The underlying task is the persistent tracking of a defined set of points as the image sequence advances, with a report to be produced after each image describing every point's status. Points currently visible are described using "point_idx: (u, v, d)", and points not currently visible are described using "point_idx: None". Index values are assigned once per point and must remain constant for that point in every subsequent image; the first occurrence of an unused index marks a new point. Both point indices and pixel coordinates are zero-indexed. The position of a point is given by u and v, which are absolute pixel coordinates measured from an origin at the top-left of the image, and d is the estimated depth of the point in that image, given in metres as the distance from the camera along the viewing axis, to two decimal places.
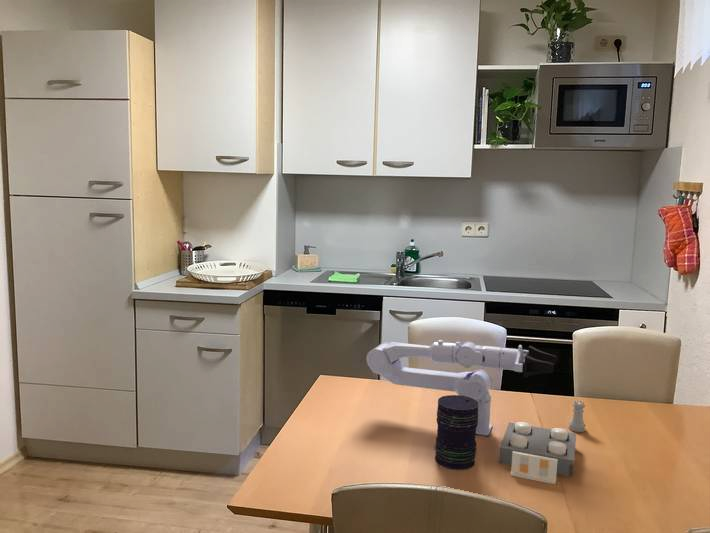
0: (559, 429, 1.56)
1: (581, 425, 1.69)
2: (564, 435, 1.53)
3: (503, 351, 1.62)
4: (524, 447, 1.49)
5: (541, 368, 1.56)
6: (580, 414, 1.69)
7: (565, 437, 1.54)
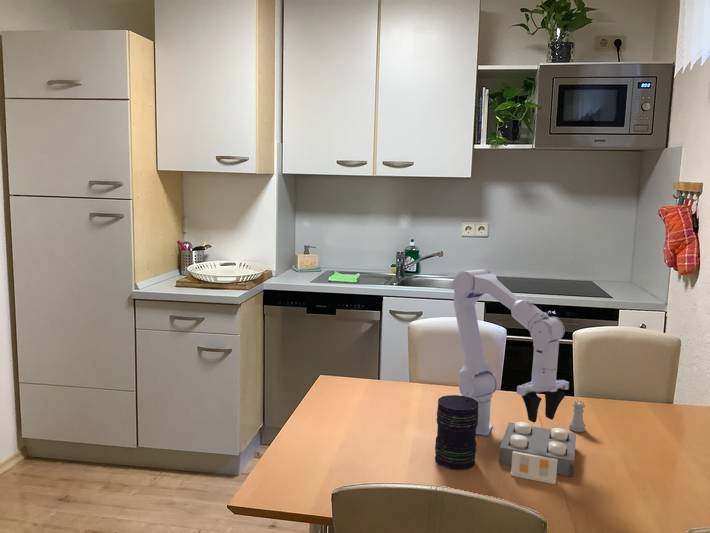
0: (559, 429, 1.56)
1: (581, 425, 1.69)
2: (564, 435, 1.53)
3: (546, 372, 1.48)
4: (524, 447, 1.49)
5: (530, 409, 1.51)
6: (580, 414, 1.69)
7: (565, 437, 1.54)
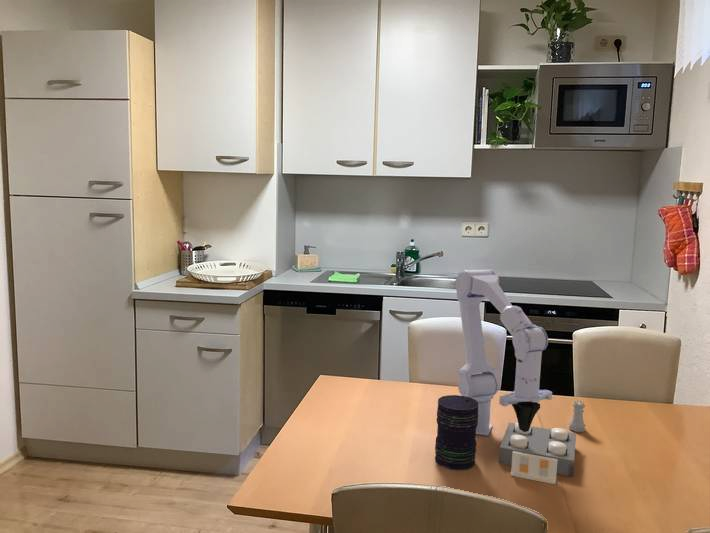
0: (559, 429, 1.56)
1: (581, 425, 1.69)
2: (564, 435, 1.53)
3: (528, 383, 1.46)
4: (524, 447, 1.49)
5: (521, 419, 1.50)
6: (580, 414, 1.69)
7: (565, 437, 1.54)
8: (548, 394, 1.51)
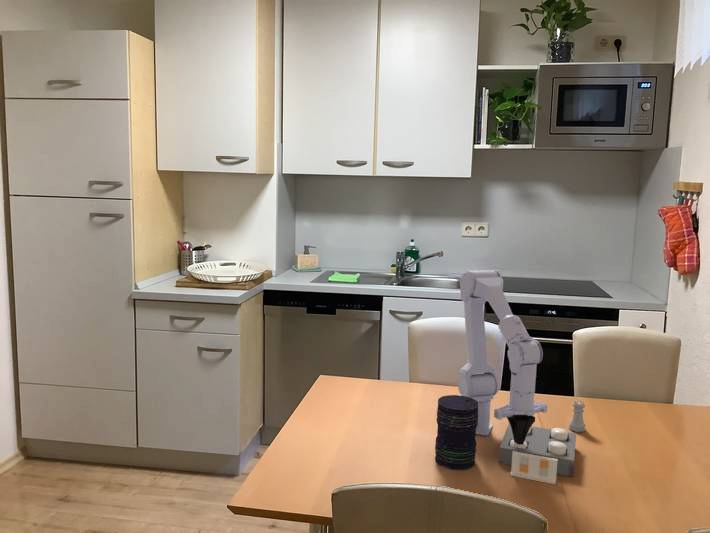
0: (559, 429, 1.56)
1: (581, 425, 1.69)
2: (564, 435, 1.53)
3: (523, 396, 1.46)
4: None
5: (516, 431, 1.50)
6: (580, 414, 1.69)
7: (565, 437, 1.54)
8: (543, 407, 1.50)
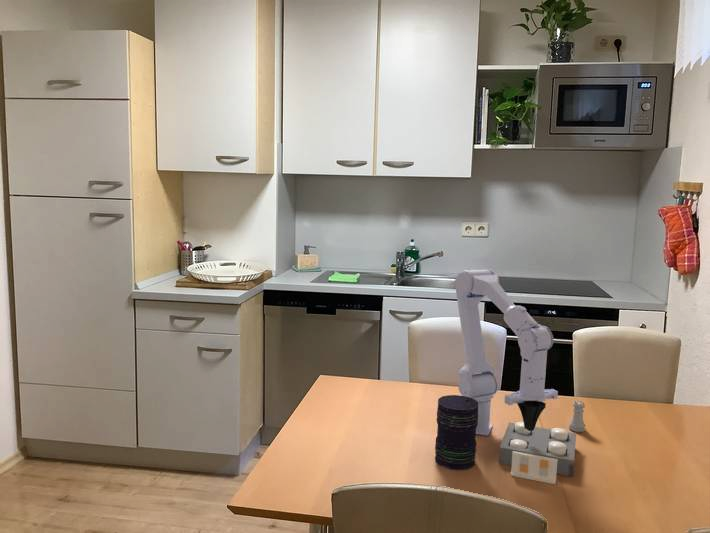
0: (559, 429, 1.56)
1: (581, 425, 1.69)
2: (564, 435, 1.53)
3: (533, 382, 1.47)
4: None
5: (526, 418, 1.51)
6: (580, 414, 1.69)
7: (565, 437, 1.54)
8: (553, 393, 1.51)
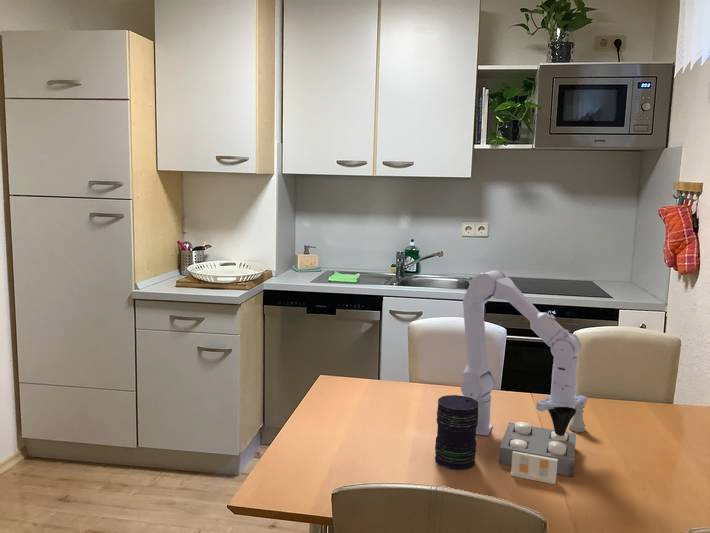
0: None
1: (581, 425, 1.69)
2: (564, 438, 1.54)
3: (565, 388, 1.51)
4: None
5: (557, 423, 1.55)
6: (580, 414, 1.69)
7: (565, 440, 1.54)
8: (583, 399, 1.55)
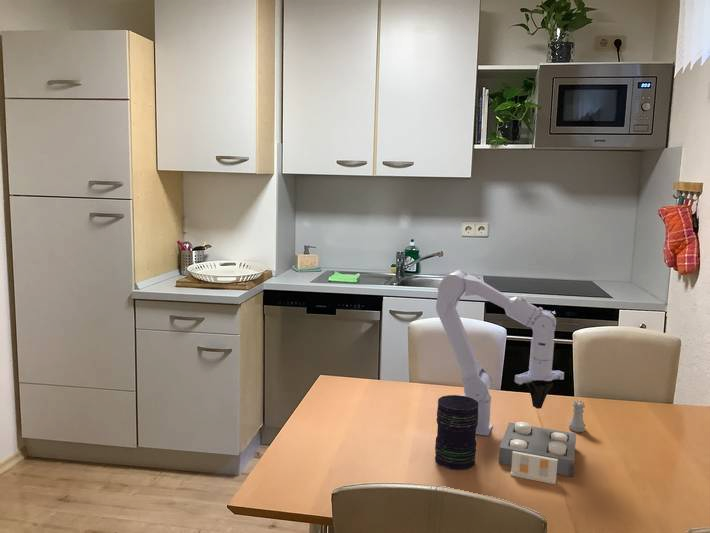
0: (559, 434, 1.56)
1: (581, 425, 1.69)
2: (564, 440, 1.54)
3: (542, 363, 1.58)
4: None
5: (534, 396, 1.62)
6: (580, 414, 1.69)
7: None
8: (560, 374, 1.62)
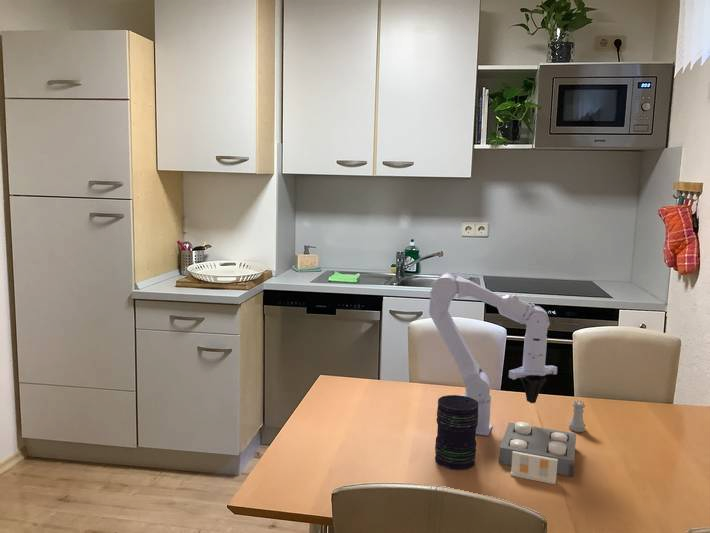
0: (559, 434, 1.56)
1: (581, 425, 1.69)
2: (564, 440, 1.54)
3: (535, 358, 1.60)
4: None
5: (528, 391, 1.64)
6: (580, 414, 1.69)
7: None
8: (553, 369, 1.65)
